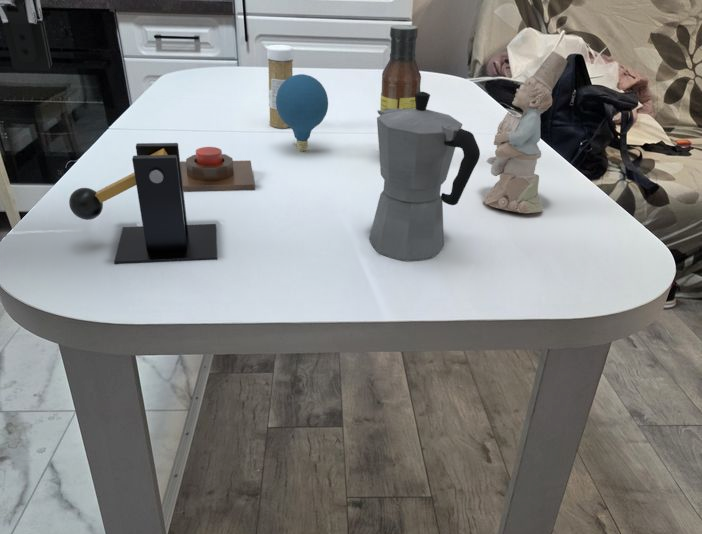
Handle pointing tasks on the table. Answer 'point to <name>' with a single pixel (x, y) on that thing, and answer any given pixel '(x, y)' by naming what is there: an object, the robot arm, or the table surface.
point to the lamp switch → (163, 213)
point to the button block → (217, 175)
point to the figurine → (523, 142)
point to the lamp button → (209, 156)
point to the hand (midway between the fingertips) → (33, 67)
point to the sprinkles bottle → (278, 77)
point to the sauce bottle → (401, 70)
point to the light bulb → (302, 106)
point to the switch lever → (100, 195)
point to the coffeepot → (417, 178)
